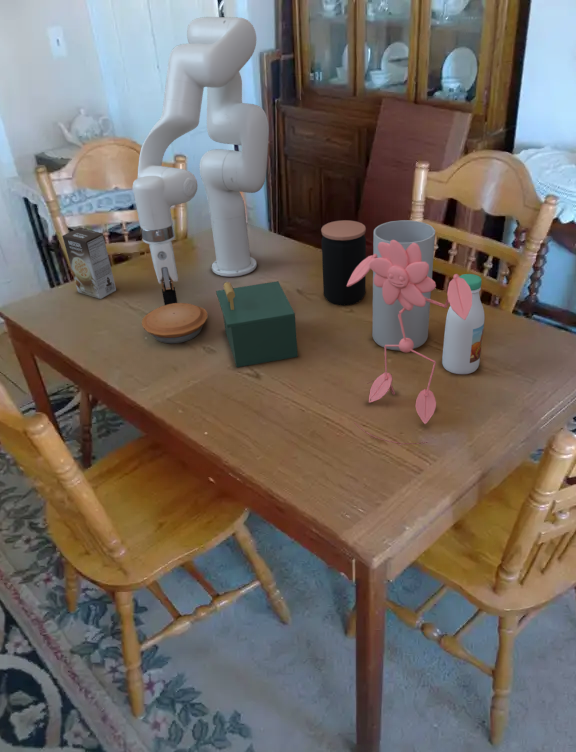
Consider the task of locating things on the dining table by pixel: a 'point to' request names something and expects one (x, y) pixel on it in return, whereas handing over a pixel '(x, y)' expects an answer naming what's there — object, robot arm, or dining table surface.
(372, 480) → the dining table surface
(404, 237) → the cylinder vase
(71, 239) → the coffee box
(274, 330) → the bread bin
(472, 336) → the milk bottle
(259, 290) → the bread bin lid
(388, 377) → the figurine
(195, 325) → the pie
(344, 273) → the coffee jar
